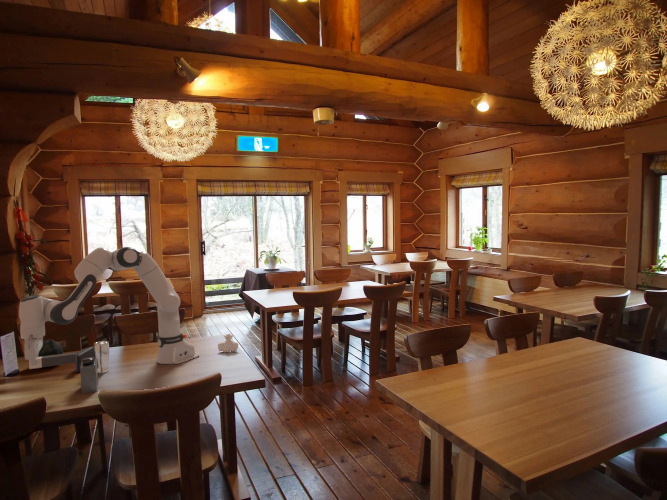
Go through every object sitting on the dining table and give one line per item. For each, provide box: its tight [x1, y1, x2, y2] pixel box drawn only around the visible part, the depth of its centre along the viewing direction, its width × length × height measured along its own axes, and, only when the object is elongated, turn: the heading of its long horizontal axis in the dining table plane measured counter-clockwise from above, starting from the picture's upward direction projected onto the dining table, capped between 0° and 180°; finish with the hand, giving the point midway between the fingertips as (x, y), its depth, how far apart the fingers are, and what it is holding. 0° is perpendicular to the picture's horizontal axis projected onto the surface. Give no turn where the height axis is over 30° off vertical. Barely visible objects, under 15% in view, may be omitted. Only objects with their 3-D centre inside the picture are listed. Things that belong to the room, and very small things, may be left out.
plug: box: [28, 351, 77, 370], centre depth 192 cm, size 18×3×4 cm, turn 116°
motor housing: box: [79, 357, 99, 395], centre depth 199 cm, size 6×11×14 cm, turn 26°
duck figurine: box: [217, 333, 239, 353], centre depth 254 cm, size 12×8×11 cm
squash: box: [38, 339, 64, 357], centre depth 231 cm, size 14×15×15 cm
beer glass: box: [93, 340, 110, 374], centre depth 221 cm, size 7×7×15 cm
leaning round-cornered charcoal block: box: [75, 346, 95, 373], centre depth 226 cm, size 16×5×9 cm, turn 2°
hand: (34, 363), depth 189 cm, fingers closed on plug, 3 cm apart
